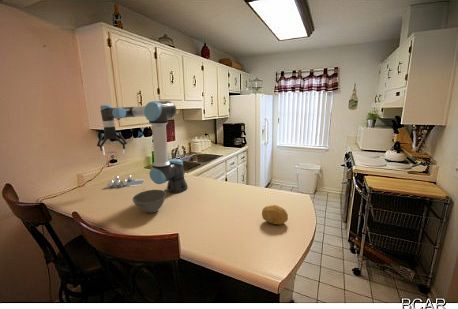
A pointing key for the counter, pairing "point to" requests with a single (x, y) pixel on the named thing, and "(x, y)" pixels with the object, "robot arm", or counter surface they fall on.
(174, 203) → the counter surface
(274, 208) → the potato
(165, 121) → the robot arm
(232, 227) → the counter surface
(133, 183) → the mat
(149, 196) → the bowl
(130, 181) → the spacers
